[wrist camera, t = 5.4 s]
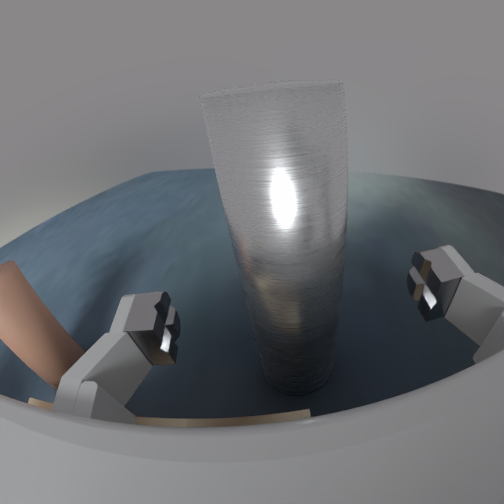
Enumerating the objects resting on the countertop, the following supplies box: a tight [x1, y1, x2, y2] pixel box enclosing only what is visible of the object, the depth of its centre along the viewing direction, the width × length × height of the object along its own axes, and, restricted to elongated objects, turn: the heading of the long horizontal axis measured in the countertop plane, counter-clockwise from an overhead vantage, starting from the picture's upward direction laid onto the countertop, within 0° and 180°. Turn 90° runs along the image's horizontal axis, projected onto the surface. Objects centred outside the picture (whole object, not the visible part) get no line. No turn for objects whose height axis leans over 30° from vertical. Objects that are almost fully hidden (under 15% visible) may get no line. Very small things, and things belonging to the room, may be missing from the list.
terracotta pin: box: [0, 261, 86, 390], centre depth 13 cm, size 4×4×9 cm
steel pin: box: [200, 79, 348, 396], centre depth 11 cm, size 4×4×14 cm
